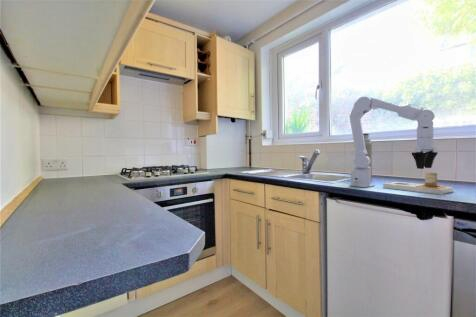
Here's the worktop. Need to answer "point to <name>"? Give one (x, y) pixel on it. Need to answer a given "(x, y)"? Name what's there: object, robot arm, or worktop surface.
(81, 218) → the worktop surface
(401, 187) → the rail plate
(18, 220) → the worktop surface
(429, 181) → the peg
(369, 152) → the thermos bottle
